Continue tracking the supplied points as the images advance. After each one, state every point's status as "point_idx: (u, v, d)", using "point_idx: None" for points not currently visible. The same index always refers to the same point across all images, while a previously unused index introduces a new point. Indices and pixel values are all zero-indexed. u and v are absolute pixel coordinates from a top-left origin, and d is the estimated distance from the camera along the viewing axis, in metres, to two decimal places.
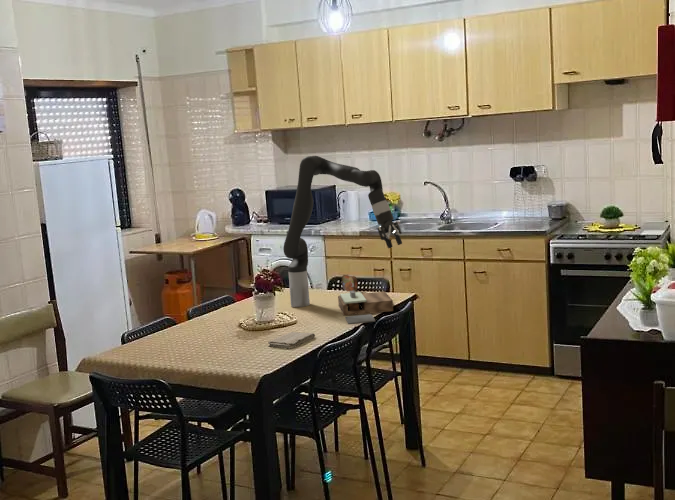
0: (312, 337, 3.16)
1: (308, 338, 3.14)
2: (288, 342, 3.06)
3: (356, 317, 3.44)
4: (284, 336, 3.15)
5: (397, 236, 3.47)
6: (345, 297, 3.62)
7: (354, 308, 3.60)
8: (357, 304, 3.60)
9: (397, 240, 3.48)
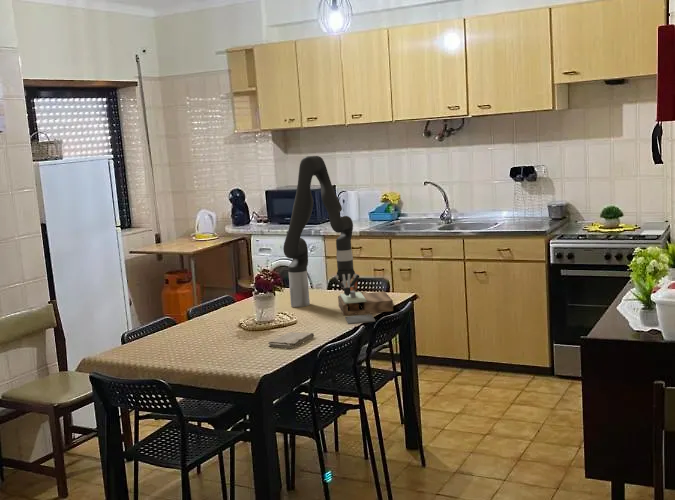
0: (311, 337, 3.17)
1: (307, 338, 3.15)
2: (289, 342, 3.06)
3: (356, 317, 3.44)
4: (283, 336, 3.14)
5: None
6: (345, 297, 3.62)
7: (354, 308, 3.60)
8: (357, 304, 3.60)
9: None
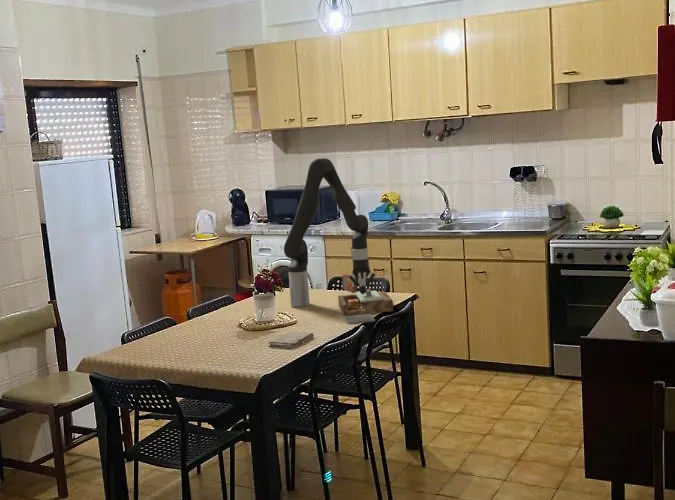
0: (311, 337, 3.17)
1: (307, 338, 3.15)
2: (289, 342, 3.06)
3: (356, 317, 3.44)
4: (283, 336, 3.14)
5: (362, 286, 3.61)
6: (361, 296, 3.62)
7: (354, 308, 3.60)
8: (357, 304, 3.60)
9: None
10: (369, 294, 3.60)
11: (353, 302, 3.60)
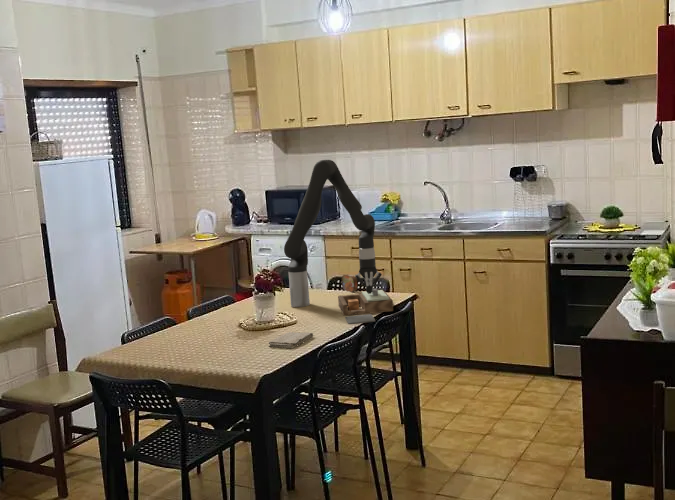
0: (310, 336, 3.17)
1: (307, 338, 3.15)
2: (290, 342, 3.06)
3: (356, 317, 3.44)
4: (283, 336, 3.14)
5: (369, 285, 3.62)
6: (367, 295, 3.63)
7: (354, 308, 3.60)
8: (357, 304, 3.60)
9: None
10: (376, 293, 3.60)
11: (353, 302, 3.60)
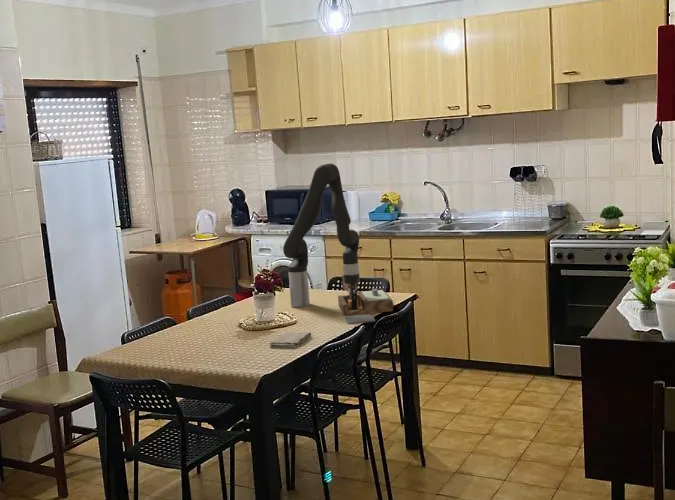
0: (309, 336, 3.18)
1: (306, 337, 3.16)
2: (291, 342, 3.06)
3: (356, 317, 3.44)
4: (282, 336, 3.14)
5: (353, 299, 3.64)
6: (367, 295, 3.63)
7: None
8: (357, 304, 3.60)
9: None
10: (376, 293, 3.60)
11: None
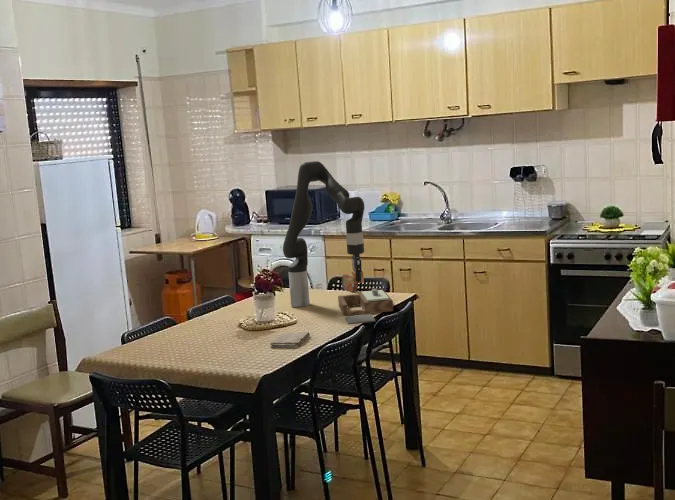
0: (308, 336, 3.19)
1: (305, 337, 3.16)
2: (292, 341, 3.06)
3: (356, 317, 3.44)
4: (282, 337, 3.14)
5: None
6: (367, 295, 3.63)
7: None
8: (362, 276, 3.37)
9: None
10: (376, 293, 3.60)
11: None
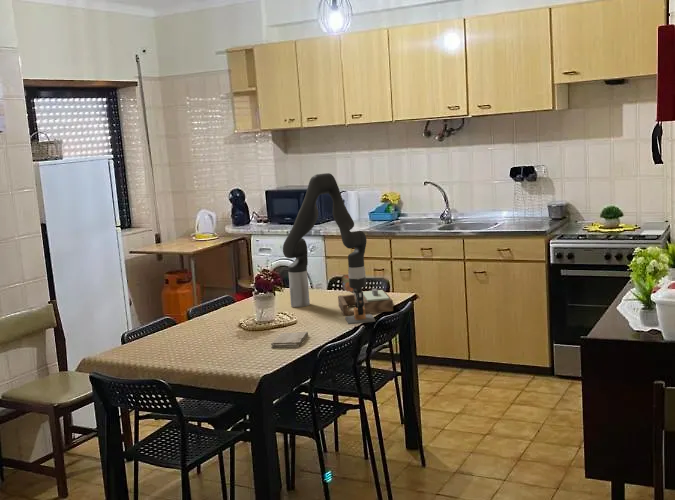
0: (306, 335, 3.20)
1: (305, 336, 3.17)
2: (293, 341, 3.06)
3: None
4: (281, 337, 3.14)
5: (358, 302, 3.45)
6: (367, 295, 3.63)
7: (360, 317, 3.40)
8: (364, 312, 3.40)
9: (357, 306, 3.45)
10: (376, 293, 3.60)
11: None
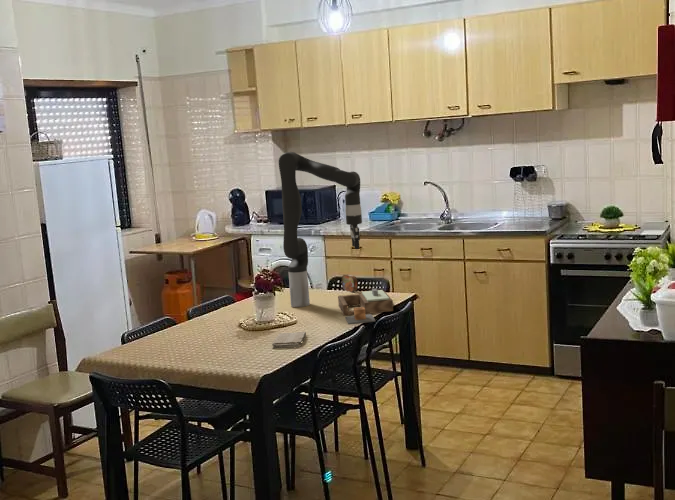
0: (304, 335, 3.20)
1: (303, 336, 3.17)
2: (295, 341, 3.06)
3: None
4: (281, 337, 3.13)
5: None
6: (367, 295, 3.63)
7: (360, 317, 3.40)
8: (364, 312, 3.40)
9: (353, 242, 3.70)
10: (376, 293, 3.60)
11: (359, 310, 3.39)
